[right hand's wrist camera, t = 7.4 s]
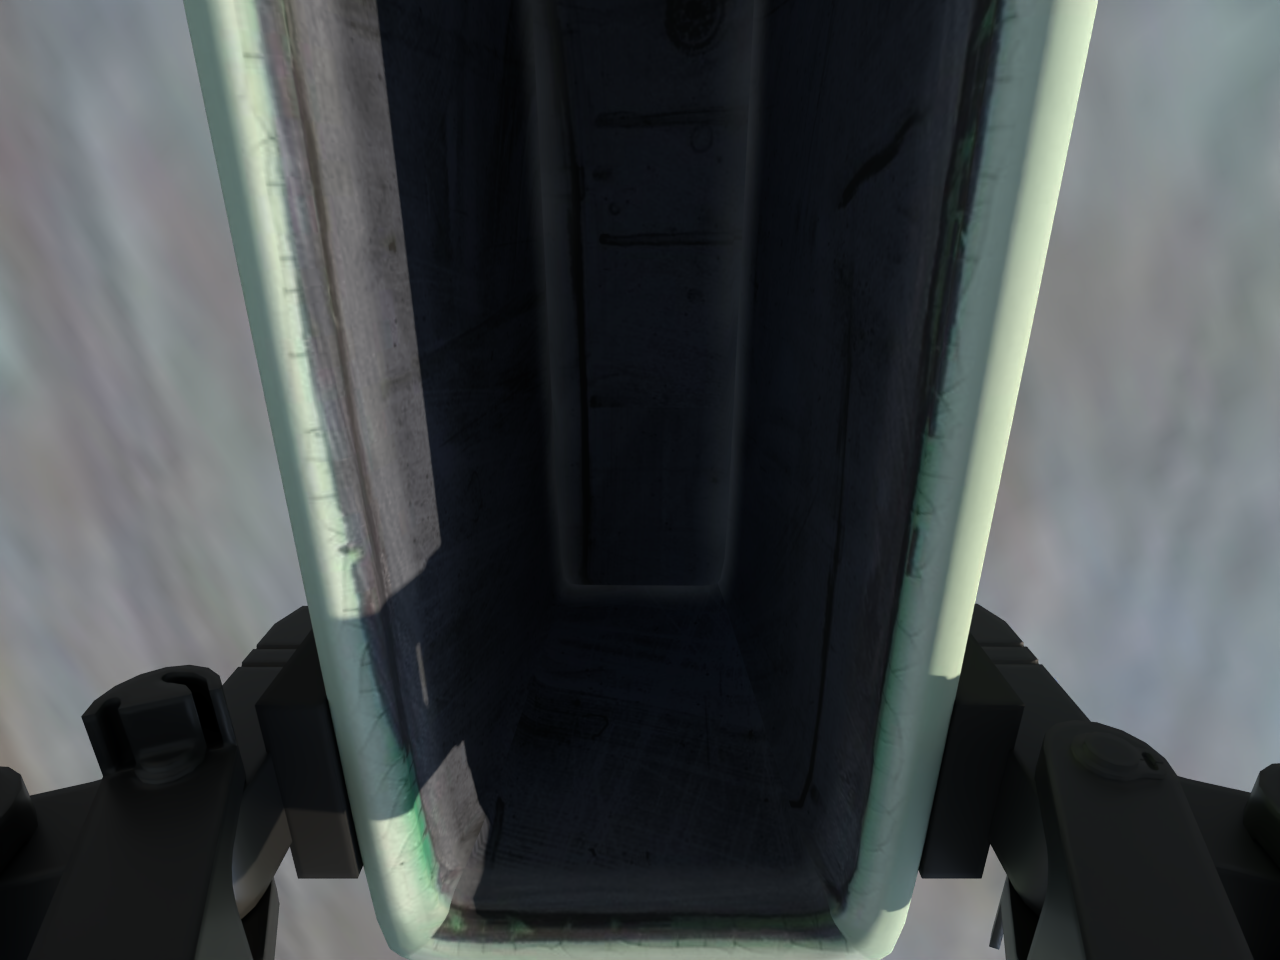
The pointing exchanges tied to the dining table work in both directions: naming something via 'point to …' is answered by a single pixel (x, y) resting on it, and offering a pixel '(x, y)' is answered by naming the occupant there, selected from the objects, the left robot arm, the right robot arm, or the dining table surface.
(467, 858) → the planter
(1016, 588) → the dining table surface
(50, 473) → the dining table surface
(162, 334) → the dining table surface
